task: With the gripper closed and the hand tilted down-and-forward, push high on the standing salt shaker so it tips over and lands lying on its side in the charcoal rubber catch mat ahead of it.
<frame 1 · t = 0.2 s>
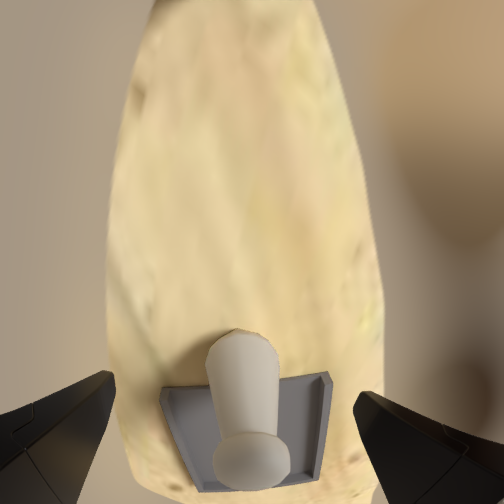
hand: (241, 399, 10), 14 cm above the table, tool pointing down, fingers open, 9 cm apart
salt shaker: (240, 347, 25), on the table
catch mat: (252, 439, 29), on the table
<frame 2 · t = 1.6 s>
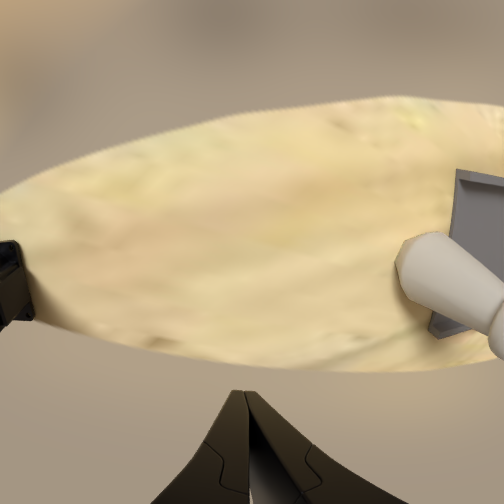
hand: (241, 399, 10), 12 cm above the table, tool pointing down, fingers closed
salt shaker: (412, 257, 23), on the table
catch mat: (497, 250, 25), on the table
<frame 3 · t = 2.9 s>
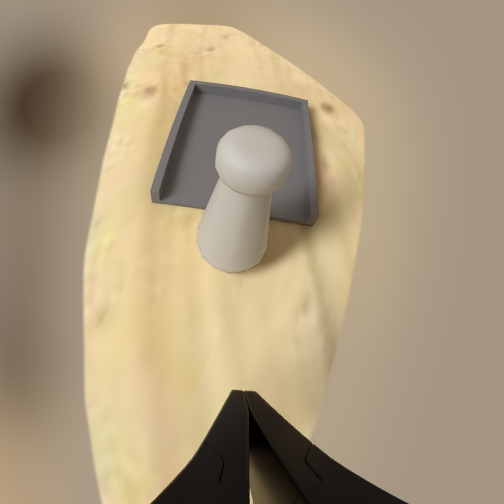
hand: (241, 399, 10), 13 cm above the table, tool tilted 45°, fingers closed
salt shaker: (228, 252, 27), on the table
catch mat: (241, 147, 33), on the table
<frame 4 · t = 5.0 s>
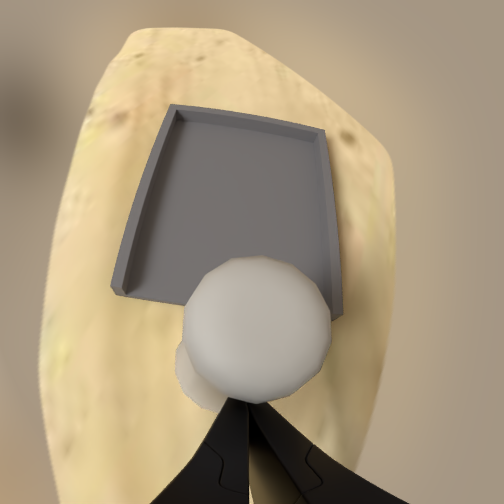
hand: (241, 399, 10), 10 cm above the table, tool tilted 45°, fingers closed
salt shaker: (221, 369, 19), on the table, touching gripper
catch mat: (237, 203, 25), on the table
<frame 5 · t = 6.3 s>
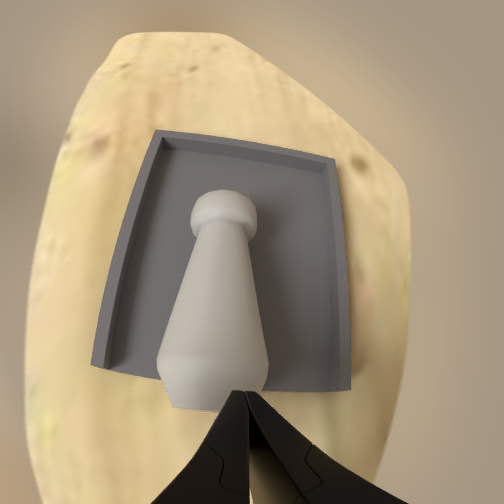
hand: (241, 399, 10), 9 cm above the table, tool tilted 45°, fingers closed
salt shaker: (210, 414, 14), point 3 cm above the table, touching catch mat
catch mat: (232, 256, 22), on the table
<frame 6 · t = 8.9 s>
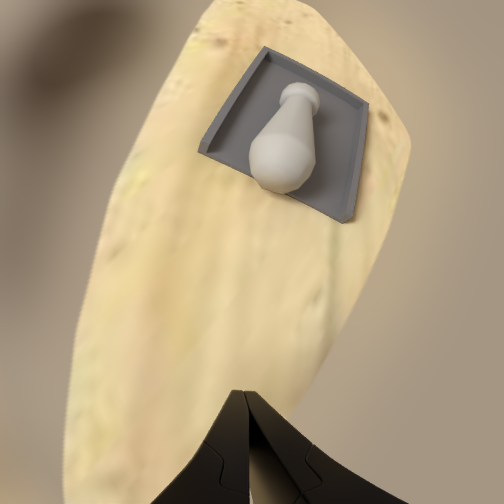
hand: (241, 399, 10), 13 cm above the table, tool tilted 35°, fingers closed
salt shaker: (275, 179, 25), point 3 cm above the table, touching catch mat
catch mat: (296, 126, 32), on the table
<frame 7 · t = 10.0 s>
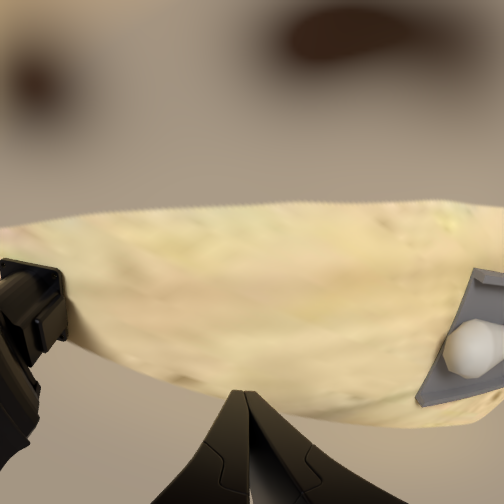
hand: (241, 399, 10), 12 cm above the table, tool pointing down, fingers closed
salt shaker: (456, 352, 22), point 3 cm above the table, touching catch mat
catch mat: (492, 336, 27), on the table
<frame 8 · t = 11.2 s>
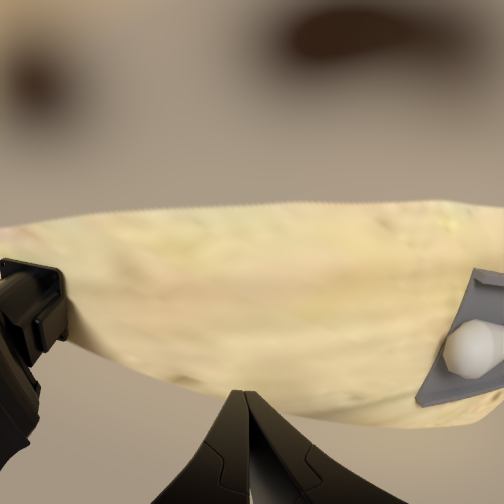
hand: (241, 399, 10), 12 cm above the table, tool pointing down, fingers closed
salt shaker: (457, 352, 22), point 3 cm above the table, touching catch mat
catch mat: (492, 337, 27), on the table
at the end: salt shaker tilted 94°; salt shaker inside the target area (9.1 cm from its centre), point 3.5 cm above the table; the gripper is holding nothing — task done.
